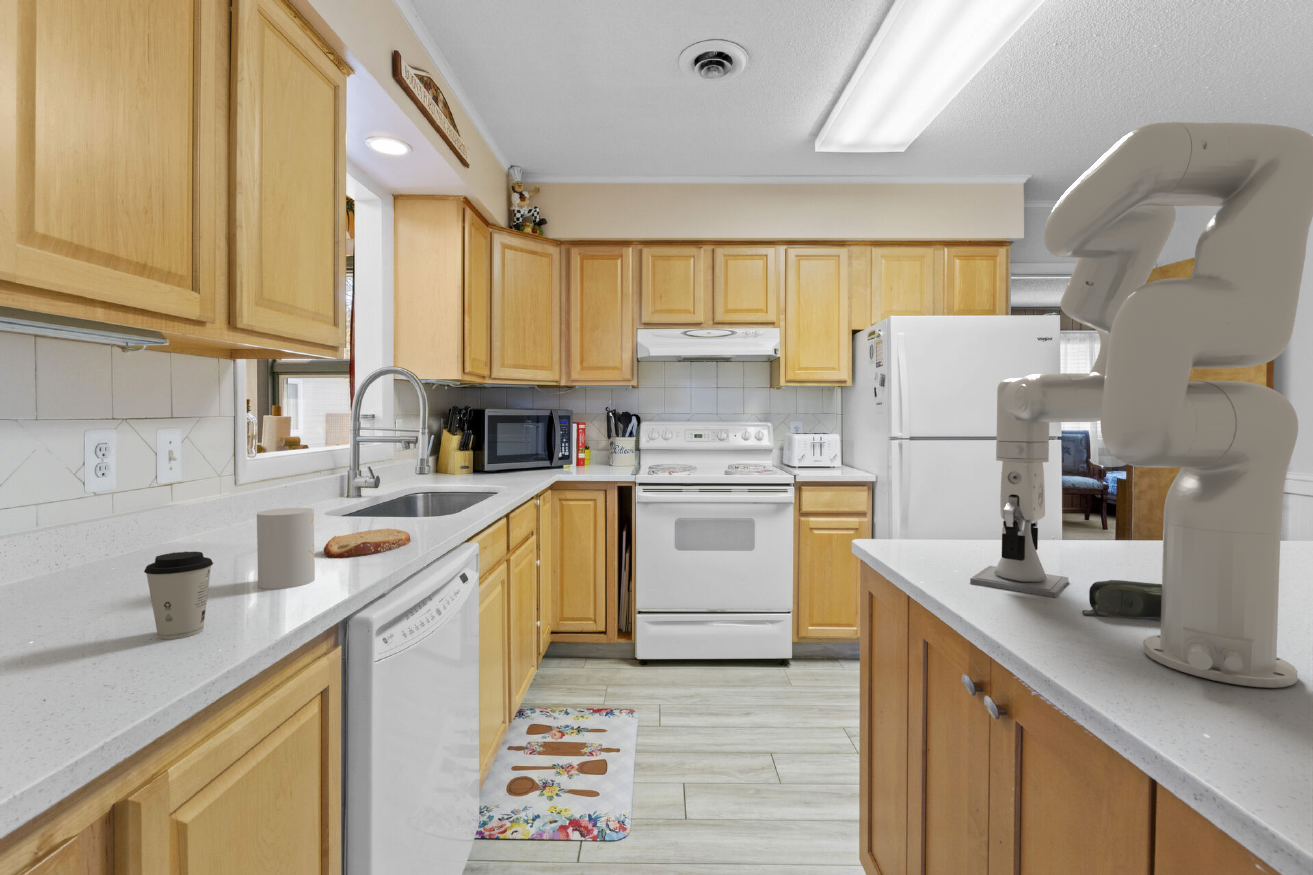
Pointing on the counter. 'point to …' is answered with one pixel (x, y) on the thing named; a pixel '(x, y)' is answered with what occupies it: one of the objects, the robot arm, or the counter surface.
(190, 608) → the coffee cup
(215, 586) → the counter surface
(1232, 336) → the robot arm
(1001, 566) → the flask
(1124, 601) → the dark green rounded block
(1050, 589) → the grey square plate
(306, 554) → the cup
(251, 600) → the counter surface
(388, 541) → the slice of bread
